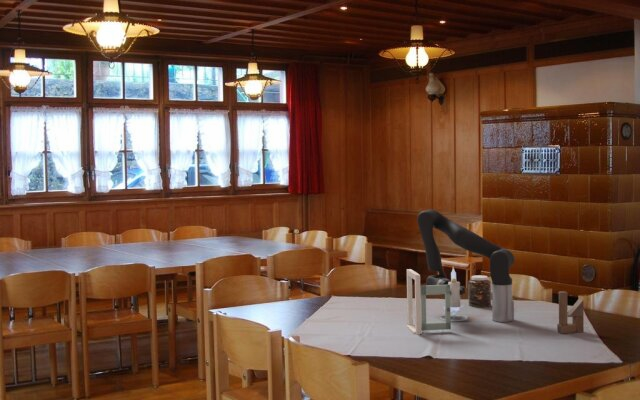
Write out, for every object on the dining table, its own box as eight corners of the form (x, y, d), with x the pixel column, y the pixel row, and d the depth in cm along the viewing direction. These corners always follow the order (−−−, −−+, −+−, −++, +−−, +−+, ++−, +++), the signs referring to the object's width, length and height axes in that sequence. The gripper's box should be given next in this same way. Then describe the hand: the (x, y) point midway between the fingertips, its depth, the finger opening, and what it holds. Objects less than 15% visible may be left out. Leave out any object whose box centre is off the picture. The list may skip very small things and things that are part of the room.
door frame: (414, 325, 362) (412, 268, 360) (423, 334, 344) (422, 274, 342) (405, 326, 361) (404, 269, 360) (414, 334, 344) (413, 275, 342)
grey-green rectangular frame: (422, 331, 344) (422, 286, 343) (421, 330, 347) (420, 285, 346) (451, 329, 346) (450, 285, 345) (449, 328, 349) (449, 284, 347)
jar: (494, 304, 407) (494, 275, 406) (486, 308, 397) (486, 278, 396) (473, 302, 413) (472, 274, 413) (464, 306, 404) (464, 277, 403)
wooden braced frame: (583, 332, 340) (583, 291, 339) (561, 334, 338) (561, 292, 337) (579, 330, 344) (579, 289, 343) (557, 332, 342) (556, 291, 341)
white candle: (458, 304, 362) (457, 277, 361) (461, 306, 357) (461, 278, 356) (447, 305, 361) (446, 277, 361) (450, 307, 356) (449, 279, 356)
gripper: (430, 280, 372) (440, 285, 355) (460, 278, 374) (471, 283, 357) (431, 295, 372) (440, 302, 356) (460, 293, 374) (471, 300, 357)
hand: (455, 292), depth 356 cm, fingers closed on white candle, 5 cm apart
